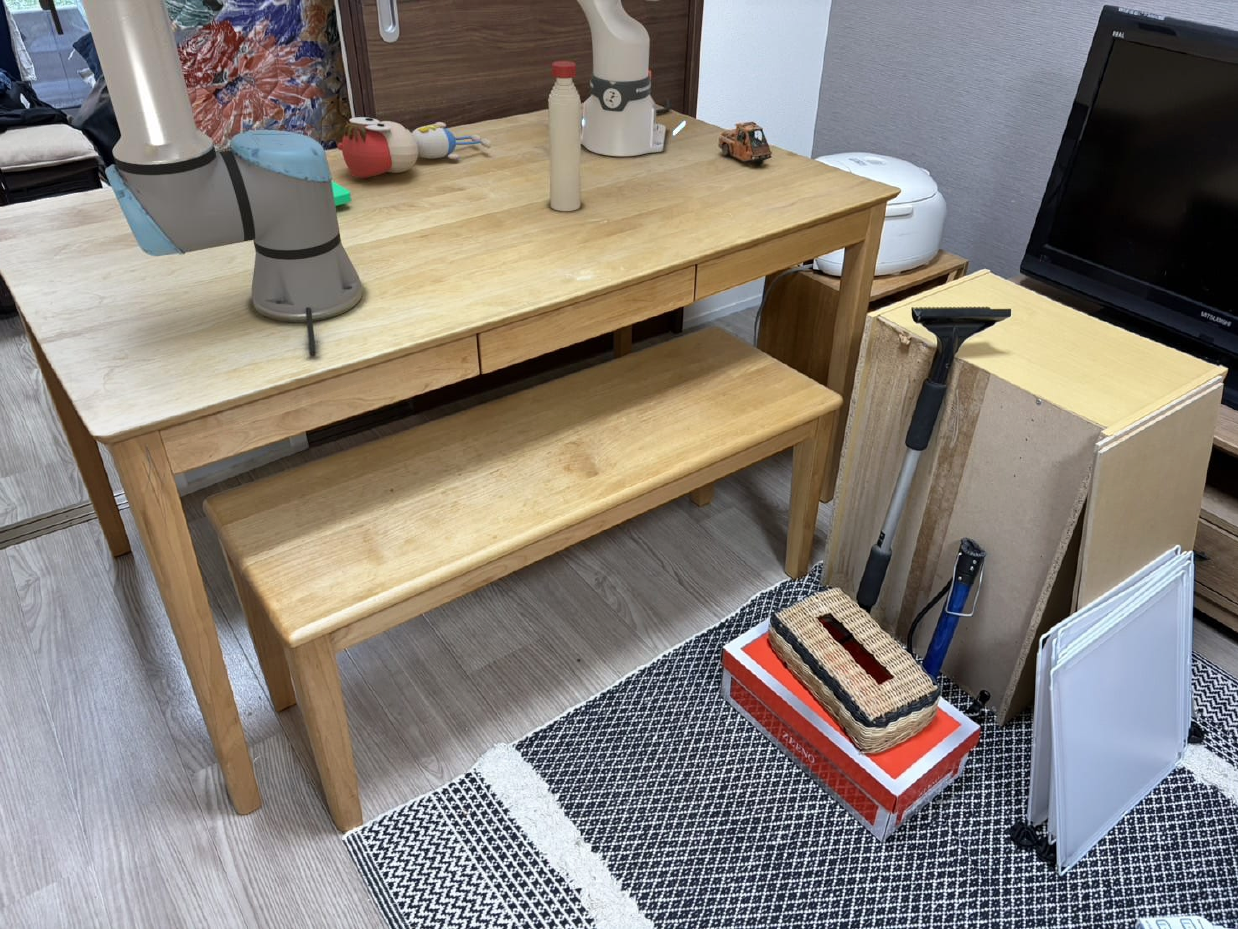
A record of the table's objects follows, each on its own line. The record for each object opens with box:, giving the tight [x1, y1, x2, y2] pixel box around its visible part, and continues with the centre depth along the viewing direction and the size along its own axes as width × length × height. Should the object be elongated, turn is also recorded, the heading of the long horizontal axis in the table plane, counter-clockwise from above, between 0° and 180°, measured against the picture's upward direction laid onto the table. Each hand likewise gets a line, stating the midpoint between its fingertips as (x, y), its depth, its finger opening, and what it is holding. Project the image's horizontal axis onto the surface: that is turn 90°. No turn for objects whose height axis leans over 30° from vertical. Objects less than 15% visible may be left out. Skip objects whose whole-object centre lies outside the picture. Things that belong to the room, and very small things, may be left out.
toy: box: [336, 116, 492, 179], centre depth 179 cm, size 18×10×30 cm
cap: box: [551, 60, 577, 79], centre depth 152 cm, size 4×4×2 cm
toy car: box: [717, 121, 773, 167], centre depth 186 cm, size 6×12×7 cm, turn 39°
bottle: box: [547, 77, 582, 212], centre depth 159 cm, size 5×5×24 cm
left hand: (108, 29), depth 146 cm, fingers open, 13 cm apart
